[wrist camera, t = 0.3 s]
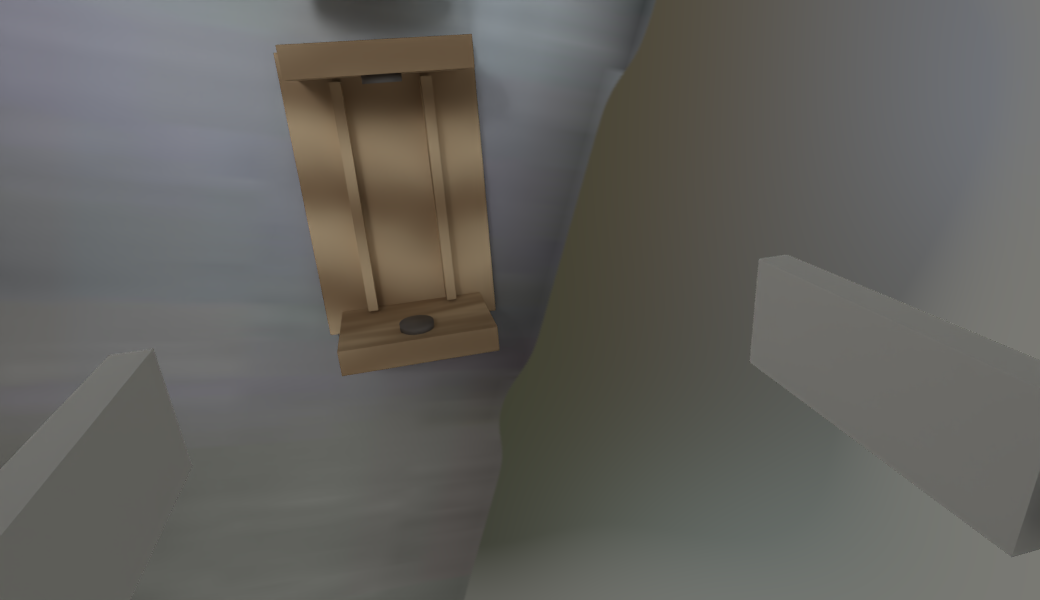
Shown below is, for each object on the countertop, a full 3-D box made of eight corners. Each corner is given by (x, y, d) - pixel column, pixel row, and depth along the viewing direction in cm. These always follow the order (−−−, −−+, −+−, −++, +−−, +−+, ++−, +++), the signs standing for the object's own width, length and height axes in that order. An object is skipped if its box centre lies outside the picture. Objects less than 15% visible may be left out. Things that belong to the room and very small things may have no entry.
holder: (275, 53, 32) (252, 46, 26) (469, 42, 35) (492, 32, 28) (331, 330, 39) (323, 379, 32) (493, 306, 41) (515, 347, 34)
